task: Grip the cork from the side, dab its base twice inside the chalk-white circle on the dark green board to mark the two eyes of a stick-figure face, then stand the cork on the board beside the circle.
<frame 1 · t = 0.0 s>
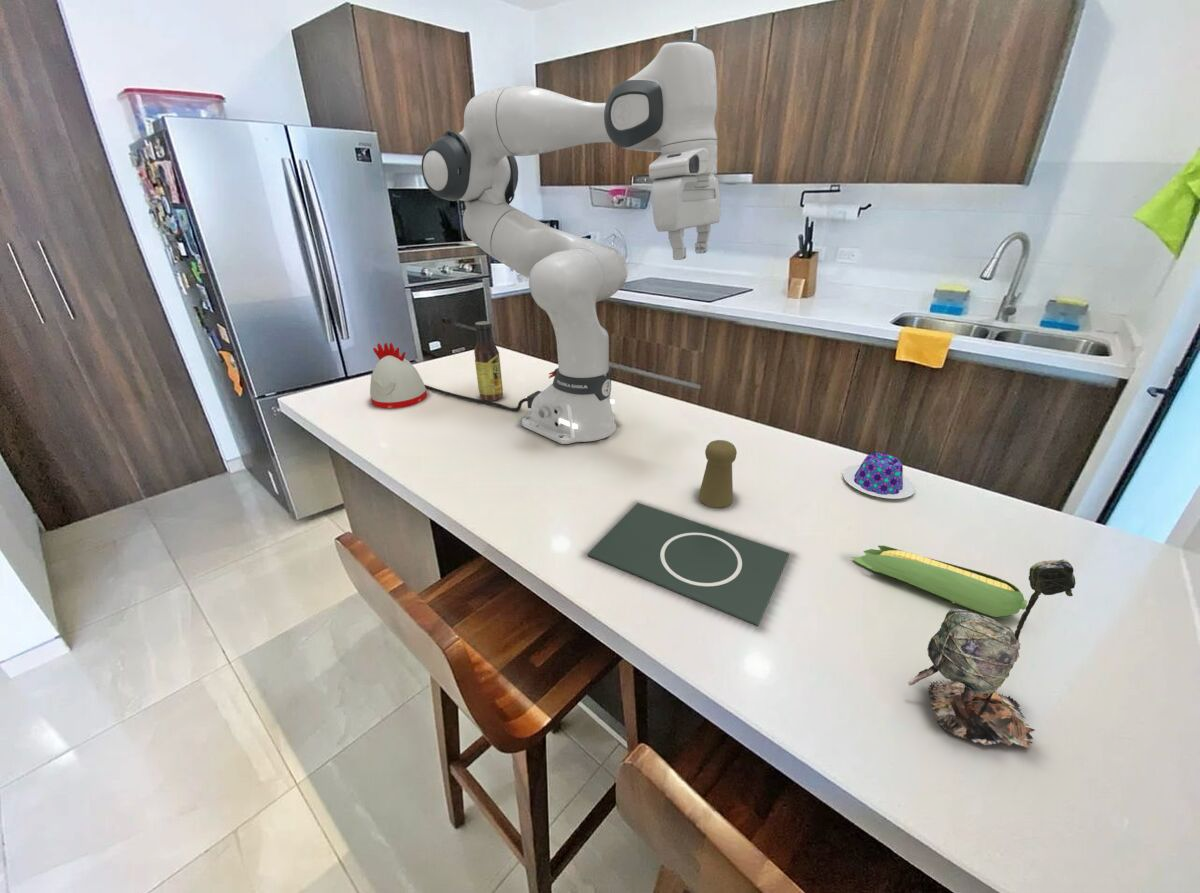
hand: (690, 256, 86), 39 cm above the counter, tool pointing down, fingers open, 8 cm apart
edible corn: (927, 588, 69), on the counter
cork: (715, 499, 89), on the counter
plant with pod: (963, 712, 53), on the counter
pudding: (876, 484, 93), on the counter
sauce bottle: (491, 398, 133), on the counter
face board: (688, 555, 75), on the counter
grey and red dome: (399, 398, 133), on the counter
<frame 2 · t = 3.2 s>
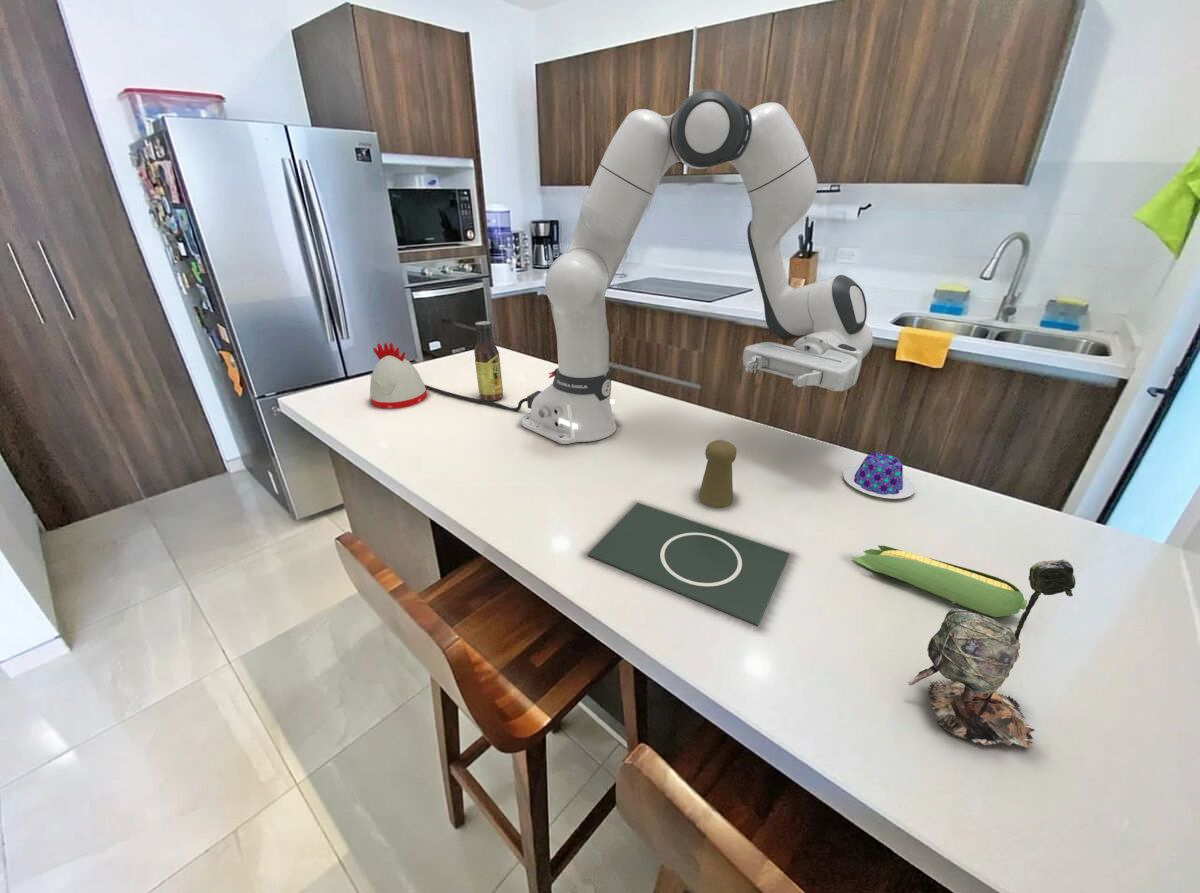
hand: (771, 374, 86), 20 cm above the counter, tool horizontal, fingers open, 8 cm apart
nothing on the counter moved.
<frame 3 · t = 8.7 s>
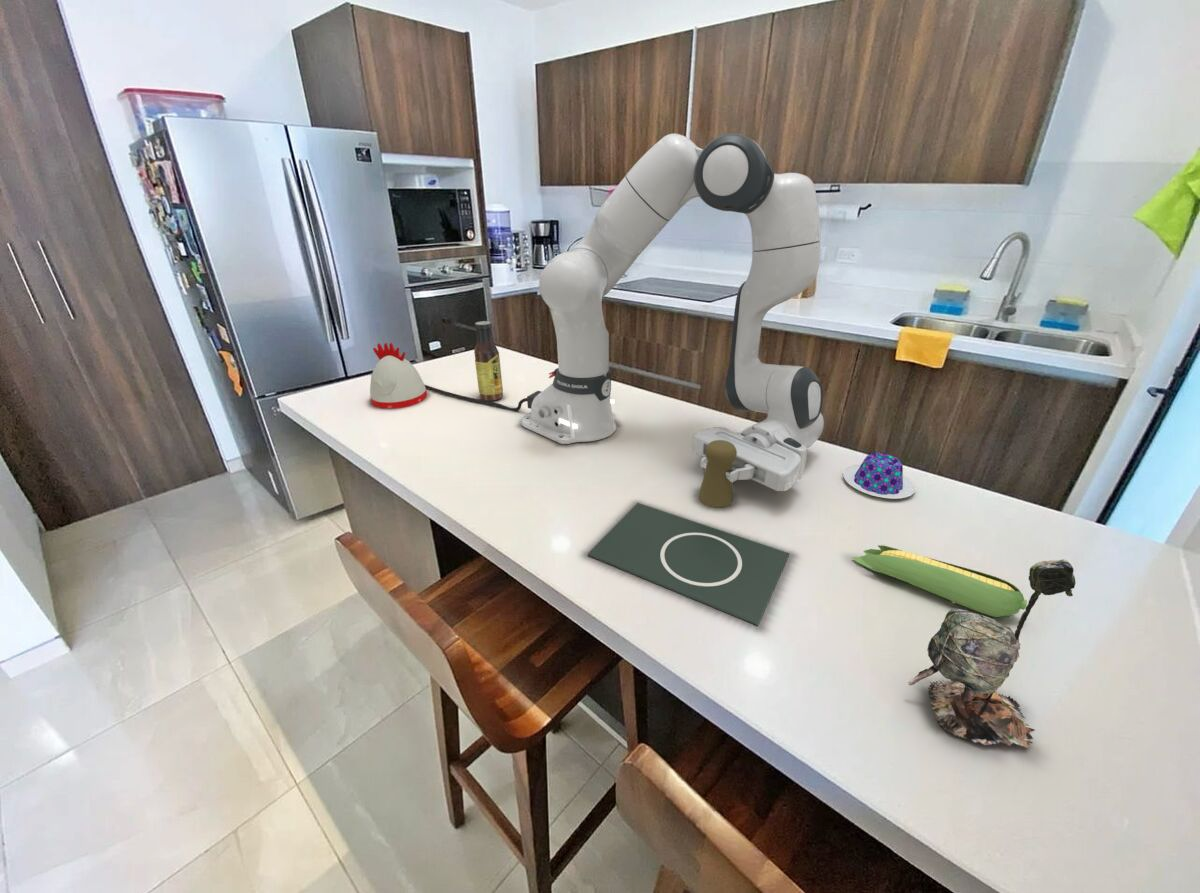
hand: (715, 470, 86), 6 cm above the counter, tool horizontal, fingers closed on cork, 4 cm apart
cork: (715, 499, 89), on the counter, touching gripper
everything else where it was.
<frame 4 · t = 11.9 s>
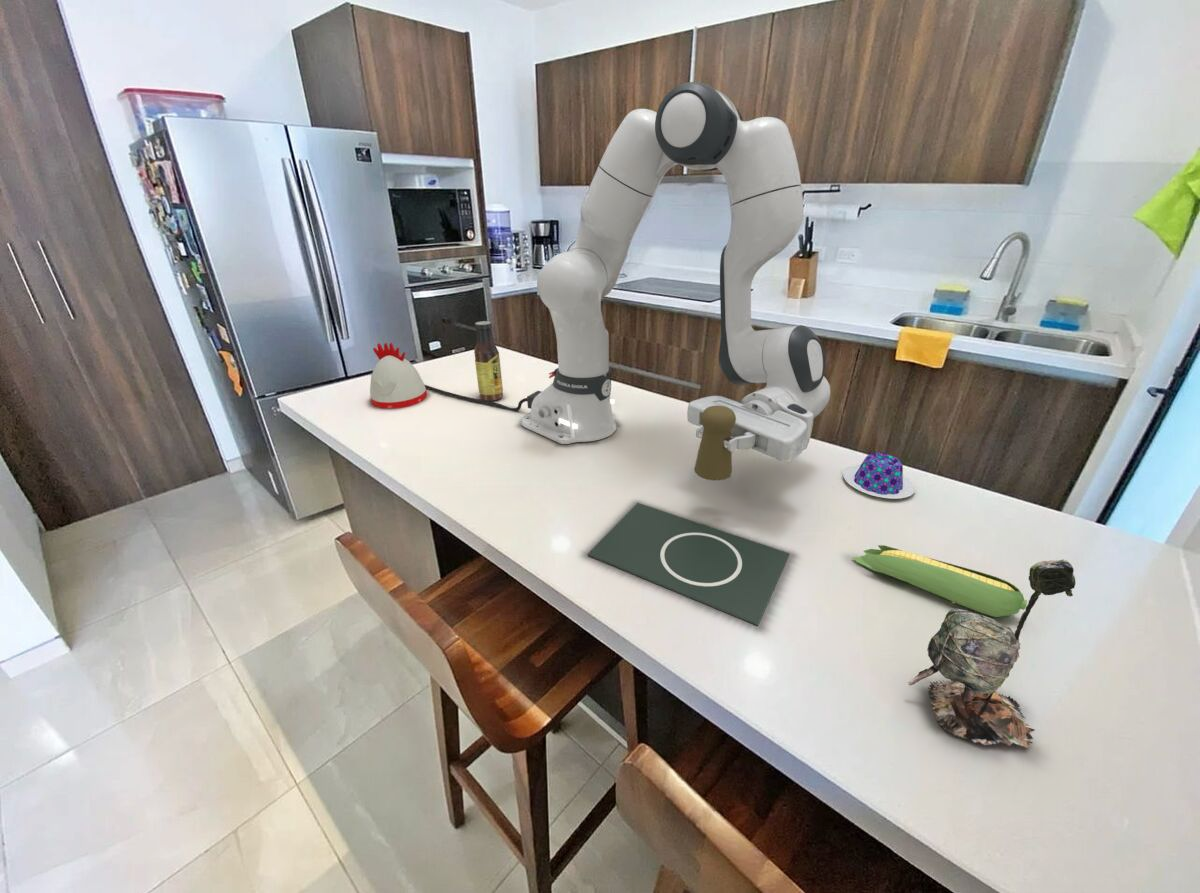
hand: (712, 439, 78), 14 cm above the counter, tool horizontal, fingers closed on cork, 4 cm apart
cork: (712, 471, 81), point 8 cm above the counter, touching gripper
everything else where it was.
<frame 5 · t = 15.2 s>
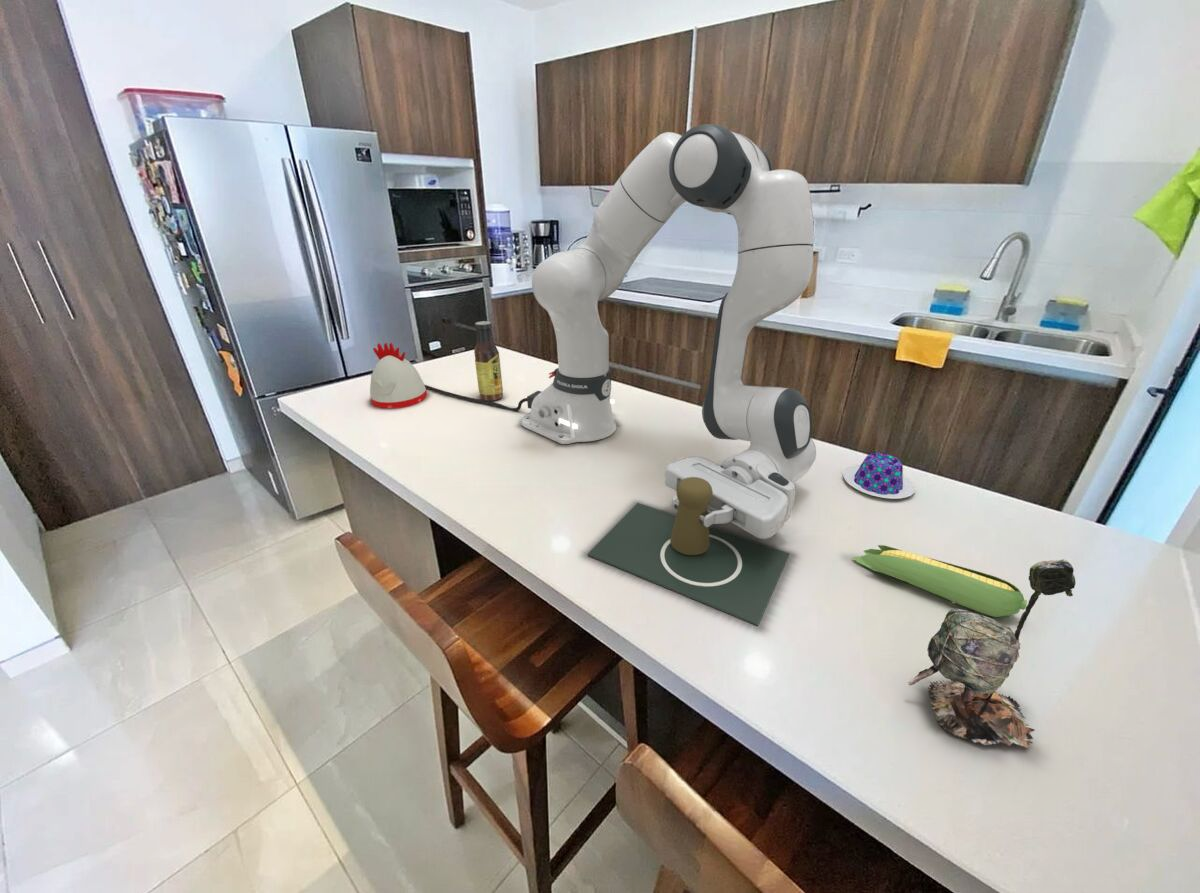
hand: (688, 512, 74), 7 cm above the counter, tool horizontal, fingers closed on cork, 4 cm apart
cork: (689, 543, 77), point 1 cm above the counter, touching gripper
everything else where it was.
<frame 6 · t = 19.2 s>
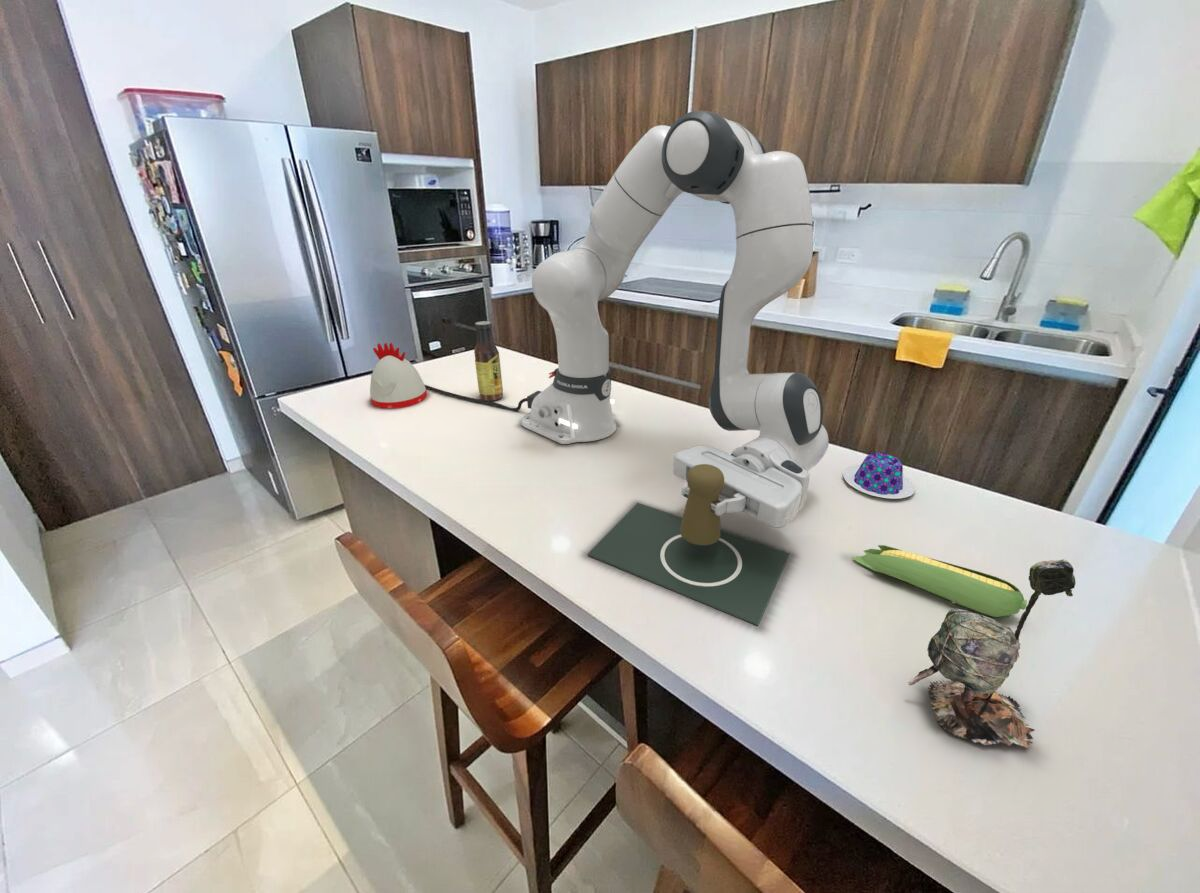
hand: (699, 501, 71), 10 cm above the counter, tool horizontal, fingers closed on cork, 4 cm apart
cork: (699, 533, 75), point 4 cm above the counter, touching gripper
everything else where it was.
when the fingers open (6 cm above the counter, at t = 22.2 s): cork stays where it is, resting on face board.
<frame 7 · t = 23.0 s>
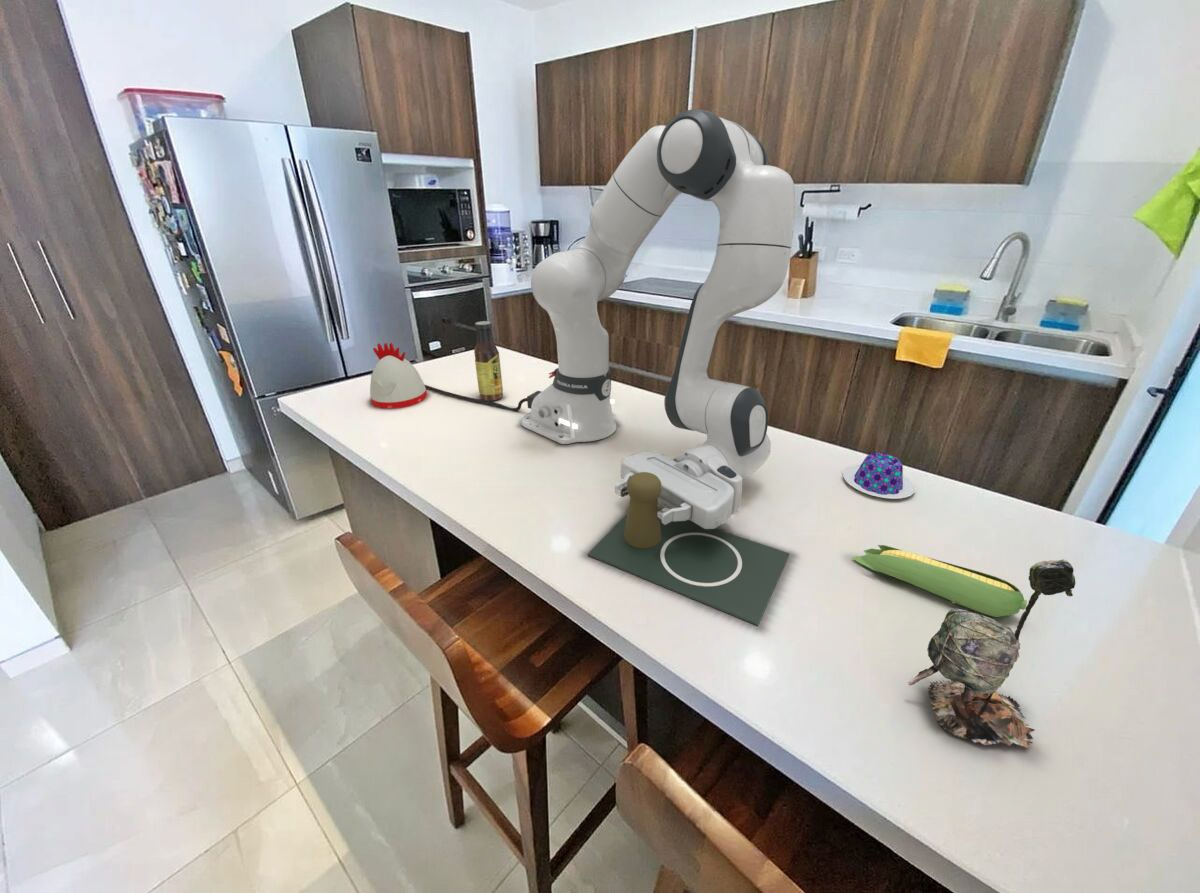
hand: (638, 504, 76), 7 cm above the counter, tool horizontal, fingers open, 8 cm apart
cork: (642, 537, 79), resting on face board
everything else where it was.
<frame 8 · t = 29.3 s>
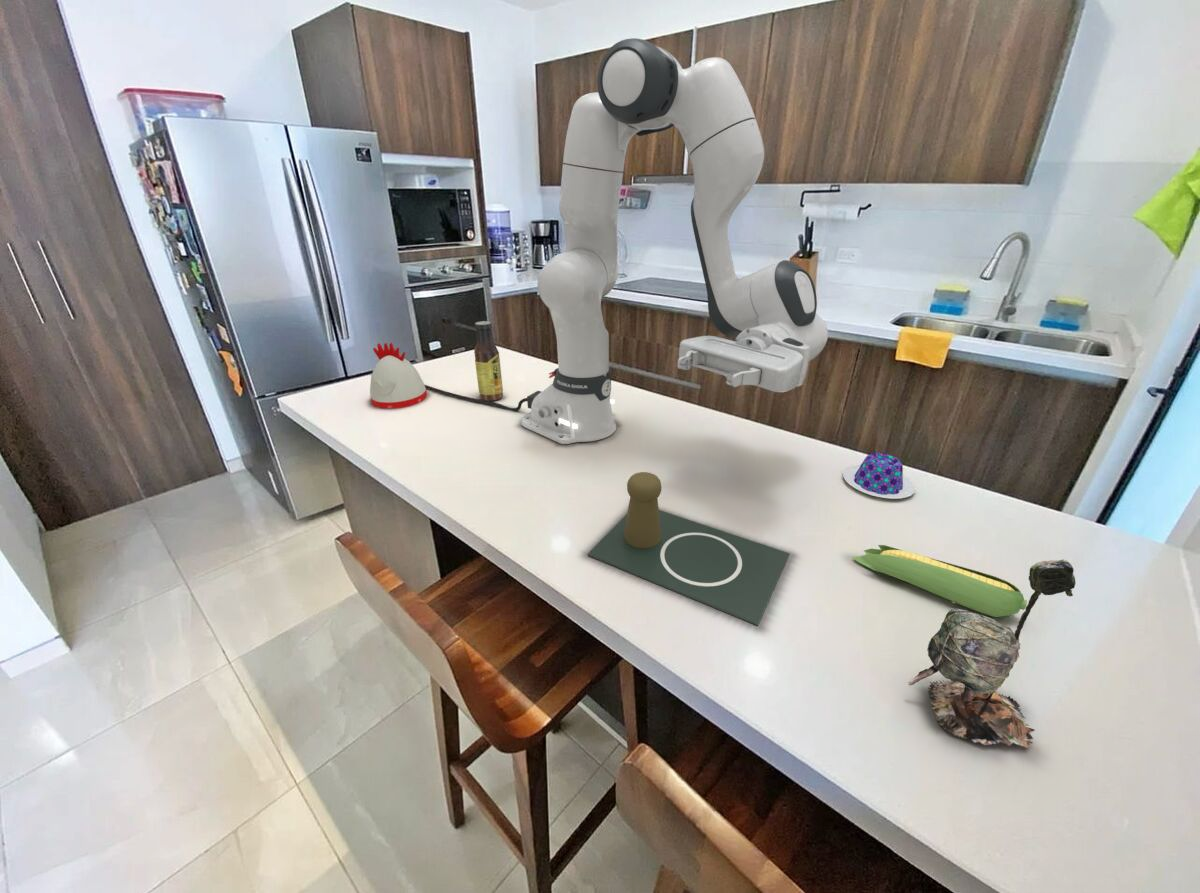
hand: (704, 372, 74), 25 cm above the counter, tool horizontal, fingers open, 8 cm apart
nothing on the counter moved.
at the end: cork inside the target area (0.1 cm from its centre), resting on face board; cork tilted 0°; the gripper is holding nothing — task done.
